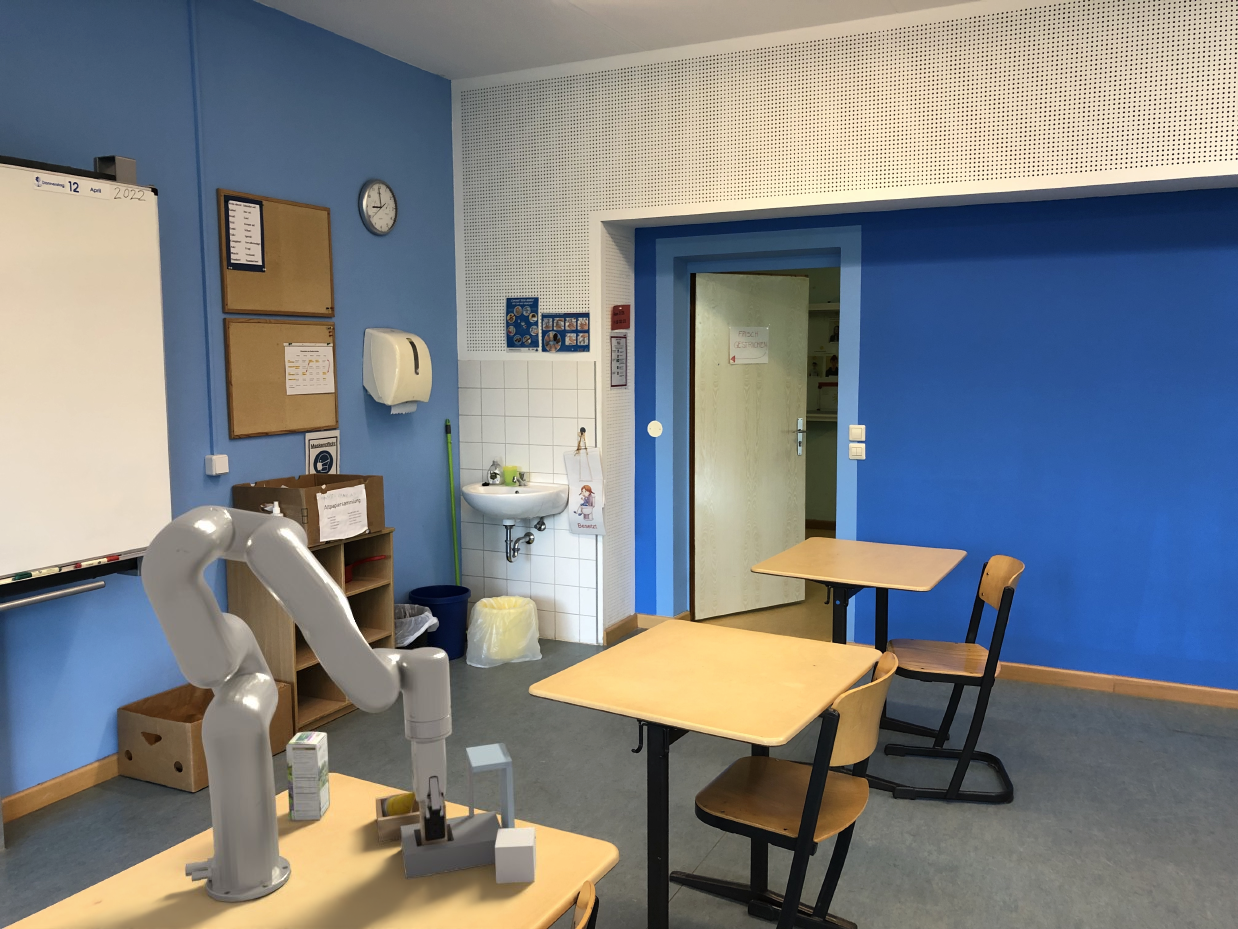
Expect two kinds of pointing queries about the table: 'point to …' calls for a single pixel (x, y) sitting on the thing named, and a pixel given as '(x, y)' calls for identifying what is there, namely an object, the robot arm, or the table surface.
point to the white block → (515, 855)
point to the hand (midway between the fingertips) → (433, 830)
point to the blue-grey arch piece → (499, 759)
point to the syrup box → (308, 776)
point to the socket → (451, 846)
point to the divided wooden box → (394, 820)
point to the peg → (422, 828)
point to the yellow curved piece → (398, 804)
